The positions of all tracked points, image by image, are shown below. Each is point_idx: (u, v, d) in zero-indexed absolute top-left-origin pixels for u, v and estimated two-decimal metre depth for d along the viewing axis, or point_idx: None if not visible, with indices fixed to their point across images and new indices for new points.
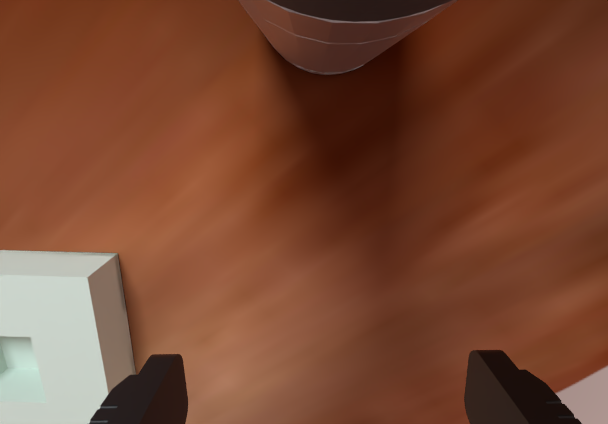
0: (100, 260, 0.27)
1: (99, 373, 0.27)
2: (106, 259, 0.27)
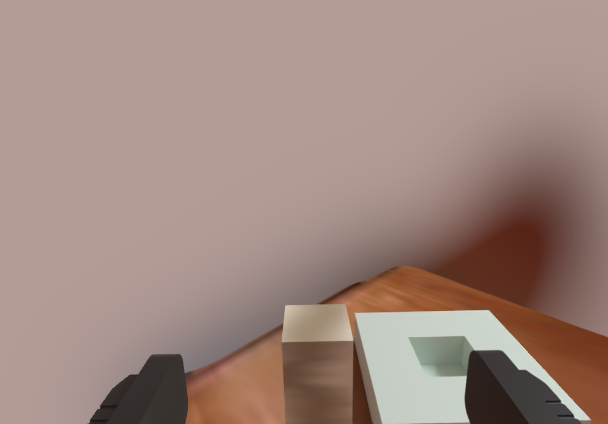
0: None
1: None
2: None
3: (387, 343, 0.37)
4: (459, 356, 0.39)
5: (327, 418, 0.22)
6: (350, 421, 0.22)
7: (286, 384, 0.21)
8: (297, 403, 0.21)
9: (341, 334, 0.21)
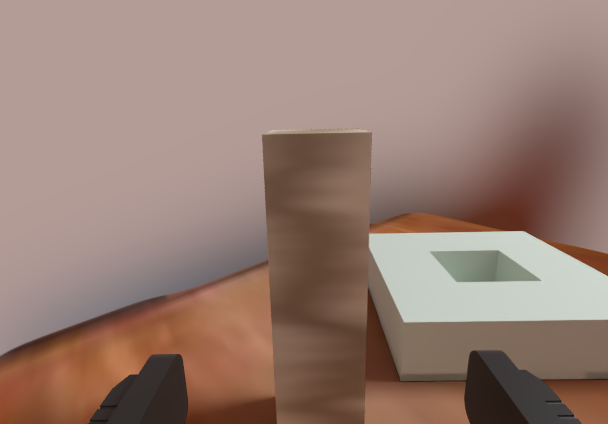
0: None
1: (539, 316, 0.21)
2: None
3: (403, 255, 0.30)
4: (491, 277, 0.32)
5: (331, 268, 0.14)
6: (365, 273, 0.15)
7: (269, 209, 0.14)
8: (286, 241, 0.14)
9: (353, 131, 0.14)
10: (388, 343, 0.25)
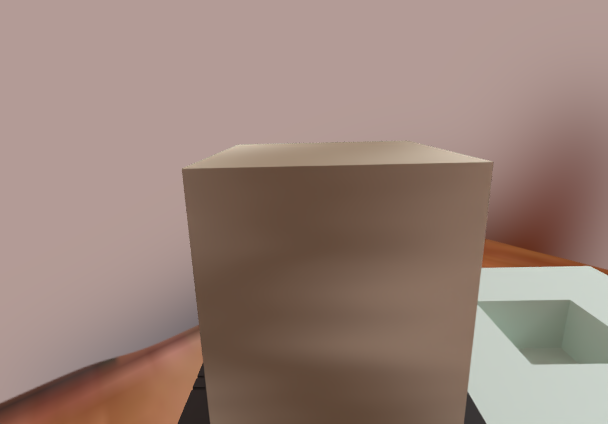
0: None
1: None
2: None
3: None
4: (558, 334, 0.23)
5: None
6: None
7: (213, 357, 0.05)
8: None
9: (433, 158, 0.05)
10: None
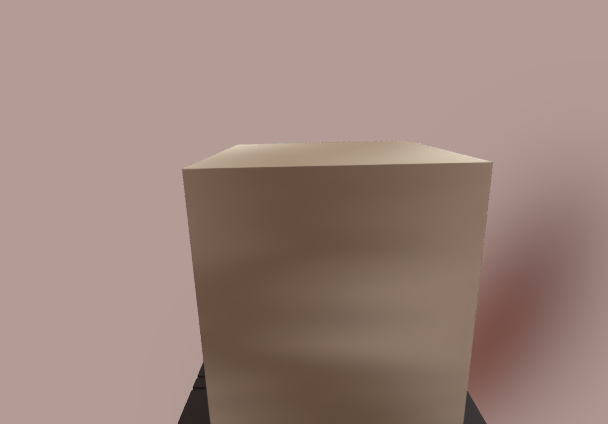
0: None
1: None
2: None
3: None
4: None
5: None
6: None
7: (213, 356, 0.05)
8: None
9: (432, 158, 0.05)
10: None
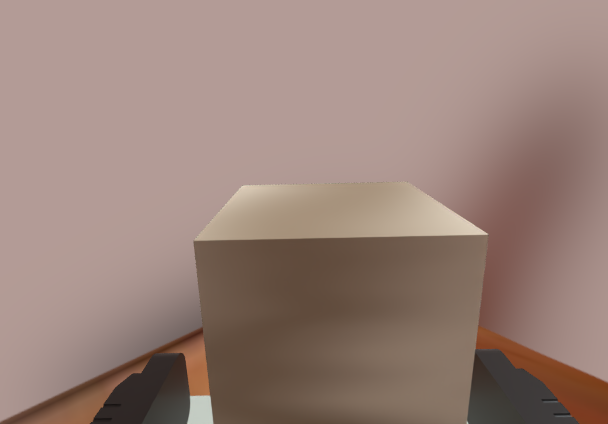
0: None
1: None
2: None
3: None
4: None
5: None
6: None
7: (221, 411, 0.06)
8: None
9: (431, 223, 0.05)
10: None
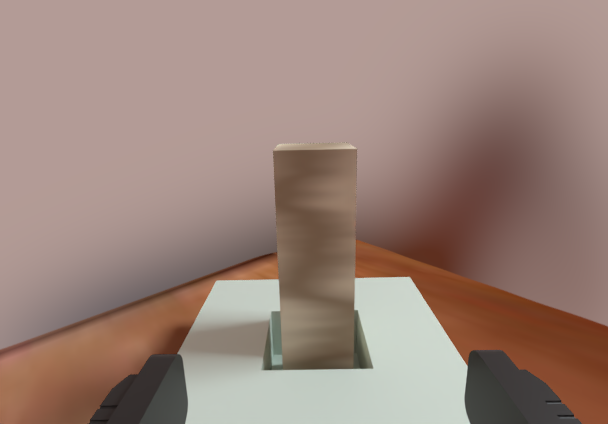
0: None
1: None
2: None
3: (233, 319, 0.24)
4: None
5: (326, 254, 0.19)
6: (353, 257, 0.19)
7: (278, 207, 0.18)
8: (290, 232, 0.18)
9: (343, 148, 0.18)
10: None
